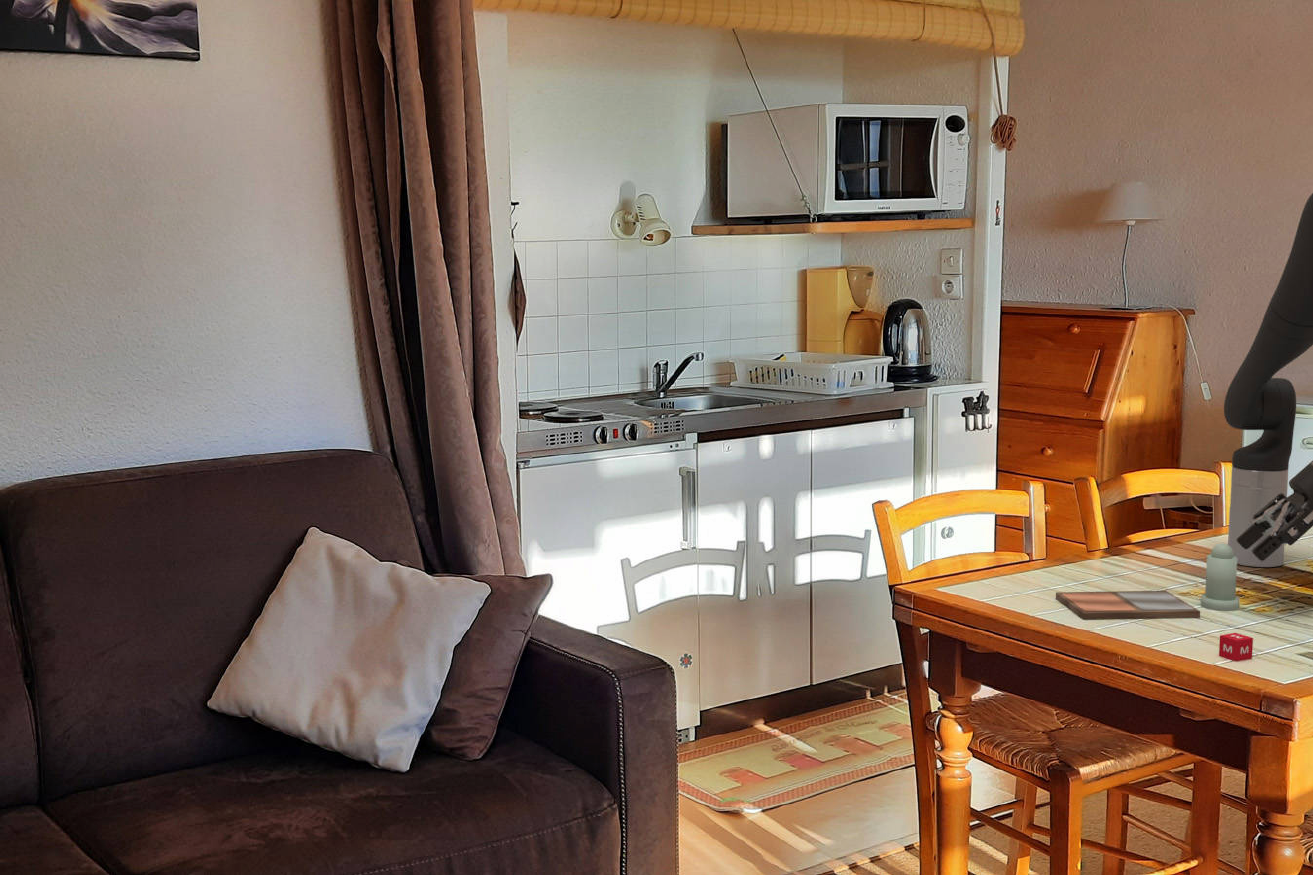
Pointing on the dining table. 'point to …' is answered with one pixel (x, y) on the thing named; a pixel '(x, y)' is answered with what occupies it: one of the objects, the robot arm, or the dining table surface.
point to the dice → (1235, 647)
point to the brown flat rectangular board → (1126, 605)
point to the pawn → (1221, 580)
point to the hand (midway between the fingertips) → (1248, 550)
